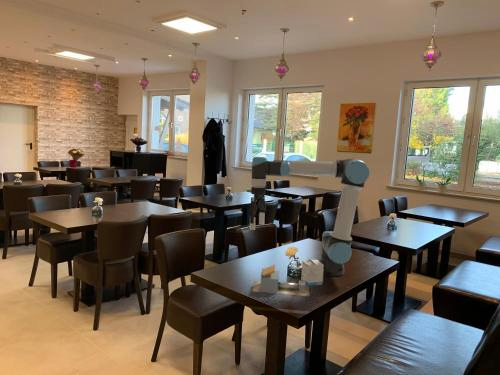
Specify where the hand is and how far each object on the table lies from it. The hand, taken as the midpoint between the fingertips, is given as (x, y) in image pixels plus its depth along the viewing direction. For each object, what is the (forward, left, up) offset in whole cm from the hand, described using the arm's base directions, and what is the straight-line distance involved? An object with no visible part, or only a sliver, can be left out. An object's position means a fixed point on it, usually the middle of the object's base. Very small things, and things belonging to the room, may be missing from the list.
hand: (257, 227), depth 195 cm
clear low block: (-19, +17, -25) cm, 36 cm away
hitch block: (-9, +17, -26) cm, 32 cm away
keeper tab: (-8, +17, -18) cm, 26 cm away
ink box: (-30, +5, -27) cm, 40 cm away
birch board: (-14, +17, -27) cm, 35 cm away
